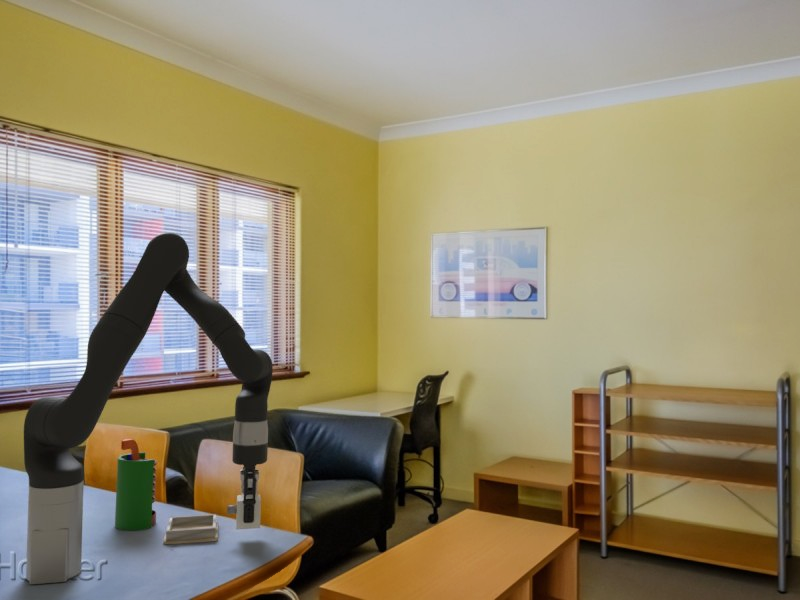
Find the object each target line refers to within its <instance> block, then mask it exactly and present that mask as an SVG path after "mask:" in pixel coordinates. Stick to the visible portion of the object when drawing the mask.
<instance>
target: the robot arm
mask: <svg viewBox="0 0 800 600" xmlns="http://www.w3.org/2000/svg"><path fill="white" fill-rule="evenodd" d="M189 258H190V249H189V245H188V243H187V241H186V240H185V238H183V237H182V235H180V234H177V233H174V232H162V233H160V234H158V235H156V236H154V237H153V238H152V239H151V240H150V241H149V242H148V243H147V246H146V247H145V250H144V252H143V254H142V256H141V258H140V260H139V262H138V264H137V265H136V268H135V270H134V271H133V273H132V275H131V276H130V277H129V279H128V281H127V282H126V283H125V285H123V287H122V288H121V289H120V290H119V292H118V294H117V295H116V297H115V298H114V299H113V300H112V302H111V303H110V305H108V307H107V309H106V310H105V311H104V313H103V314H102V316H101V317H100V319H99V321H98V322H97V324H95V326H94V328H93V329H92V331H91V334H90V335H89V338H88V343H87V353H86V354H87V355H86V365H85V366H86V367H85V370H84V372H83V374H82V375H81V378H80V379H79V381H78V383H77V384H76V386H75V387H74V389H73V390H72V391H71V393H70V394H69V395H68V397H61V396H45V397H41V398H39V399H37V400H35V401H34V402H33V403H32V404H31V405H30V407H29V408H28V410H27V412H26V414H25V418H24V423H23V457H24V458H23V459H24V460H23V461H24V463H23V464H24V469H25V471H26V473H27V476H28V500H27V528H26V529H27V534H26V535H27V537H26V538H27V539H26V570H25V571H26V572H25V573H26V574H25V579H26V581H28V583H29V585H43V584H51V583H52V584H53V583H65V582H68V581H69V580H70V579H72V578H73V577H74V578H75V577H76V576H77V575H79V574H80V573H81V571H82V556H83V555H82V554H83V548H82V547H83V519H84V518H83V516H84V488H85V487H84V485H85V484H84V483H85V480H84V479H85V476H84V475H85V470H84V465H83V464H82V463H81V462H79V461H78V460H77V459H76V458H75V457H74V456H73V454H72V452H71V449H75V448H76V447H79V446H80V445H82V444H83V443H84V442H85V441H87V440H88V438H89V437H90V436H91V434H92V433H93V432H94V429H95V427H96V425H97V423H98V422H99V419H100V417H101V415H102V413H103V411H104V409H105V407H106V405H107V402H108V400H109V398H110V396H111V394H112V392H113V390H114V388H115V386H116V384H117V382H118V381H119V380H120V377H121V376H122V374H123V373H124V370H125V368H126V366H127V365H128V363H129V362H130V360H131V359H132V357H133V356H134V354H135V353H136V351H137V349H138V348H139V347H140V345H141V343H142V342H143V339H144V338H145V336H146V334H147V332H148V330H149V328H150V325H151V323H152V322H153V320H154V317H155V314H156V311H157V309H158V307H159V304H160V300H161V299H162V296H163V294H164V292H165V293H166V294H168V296H169V297H171V298H172V300H174V301H175V302H176V303H177V304H178V305H179V306H180V307H181V308H182V309H183V310H184V311H185V312H186V313H187V314H188V315H189V317H191V318H192V319H193V321H194V322H195V323H196V324H197V326H199V328H201V330H202V331H203V332H204V334H205V335H206V336H207V337H208V339H209V340H210V341H211V342H212V344H213V345H214V346H215V347H216V348H217V350H218V352H219V353H220V356H221V358H222V359H223V361H224V363H225V365H226V367H227V368H228V370H229V372H230V373H231V374H232V375H233V376H234V377H235V378H236V379H237V380H238V381H240V382H242V383H241V390H240V393H239V394H238V395H237V396H236V398H235V406H234V425H233V434H232V460H231V461H232V463H233V464H235V465H239V466H243V467H242V469H240V472H239V473H240V476H239V478H240V493H241V495H243V506H244V514H243V522H244V523H252V522H253V521H254V505H255V503H256V500H255V496H256V494H257V493H258V488H259V487H258V481H259V480H260V472H259V469H258V468H257V469H256V466H258V465H263V464H265V463H266V462H267V461H268V452H269V450H268V448H269V447H268V446H269V445H268V443H269V441H268V440H269V427H268V407H269V406H268V398H269V394H270V390H271V384H272V380H273V373H274V370H273V360H272V358H271V357H270V355H269V353H267V352H266V351H264V350H262V349H253V348H252V347H251V345H250V344H249V342H248V341H247V340H246V332H245V330H244V329H243V327H242V326H241V324H239V322H238V321H237V320H236V319H235V318H234V316H233V315H232V314H231V313H230V311H229V310H228V309H227V308H226V307H225V306H223V304H222V303H220V302H219V301H218V300H216V299H214V298H213V297H211V296H210V295H208V294H207V293H206V292H204V291H203V290H202V289H201V288H200V287H199V286H198V285H197V284H196V282H195V281H194V279H193V278H192V277H191V275H190V273H189V271H188V270H187V268H188V263H189V260H190V259H189ZM246 495H253V498H252V499H246Z"/></svg>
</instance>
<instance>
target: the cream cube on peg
mask: <svg viewBox="0 0 800 600" xmlns="http://www.w3.org/2000/svg"><path fill="white" fill-rule="evenodd" d="M252 498H253V495H246V499H252ZM255 500H256V503H255V505H254V521H253V522H252V523H244V522H243V514H244V506H243V495H242V494H238V495H236V504H232V505H231V504H229V505H227V511H226V514H227V515H236V517H235V518H236V519H235V520H236V522H235V523H236V524H235V526H236V528H235V529H236V530H249V529H253V530H254V529H261V512H262V511H261V509H262V508H261V506H262V505H261V504H262V500H261V494H260V493H259V494H257V493H256V496H255Z"/></svg>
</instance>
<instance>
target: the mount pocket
mask: <svg viewBox="0 0 800 600" xmlns="http://www.w3.org/2000/svg"><path fill="white" fill-rule="evenodd" d="M218 532H219V521H217V514H216V513H215V514H214V513H213V514H203V515H201V514H199V515H197V514H196V515H183V516H182V515H181V516H170V517H169V520H168V524H167V527H166V531H165V534H164V538H163V541H162V544H163V546H165V545H177V544H189V543H190V544H192V543H204V542H205V543H206V542H217V541H218V539H219V538H218V537H219V533H218Z"/></svg>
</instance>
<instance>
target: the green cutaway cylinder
mask: <svg viewBox="0 0 800 600" xmlns="http://www.w3.org/2000/svg"><path fill="white" fill-rule="evenodd" d="M120 443H121V445H120V446H121V447H120V449H121V450H123V451H126V450H130V451H131V452H130V453H125V454H121V455H118V457H117V467H116V468H117V470H116V490H115V491H116V493H115V496H116V497H115V514H114V515H115V516H114V527H115V528H116V529H118V530H124V531H139V530H140V531H141V530H142V531H143V530H147V529H151V528H152V526H154V525H155V524H156V522H157V511H155V510H154V509H153V504H154V503H156V497H155V495H156V487H157V482H156V480H157V475H156V473H157V467H155V466H157V465H158V462H157V460H156V459H152V458H149V459H148V458H146V452H140V451H139V445H138V443H137V442H136V440H135V439H133V438H125V439H121V442H120Z"/></svg>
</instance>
